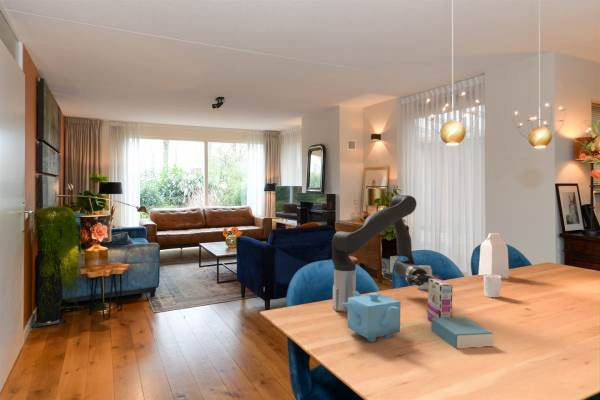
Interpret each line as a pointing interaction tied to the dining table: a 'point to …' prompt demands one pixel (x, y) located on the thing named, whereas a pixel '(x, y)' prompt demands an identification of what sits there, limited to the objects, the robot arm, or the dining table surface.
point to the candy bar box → (439, 299)
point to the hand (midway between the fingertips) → (429, 283)
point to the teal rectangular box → (461, 332)
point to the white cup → (492, 285)
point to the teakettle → (373, 315)
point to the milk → (494, 256)
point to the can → (429, 272)
